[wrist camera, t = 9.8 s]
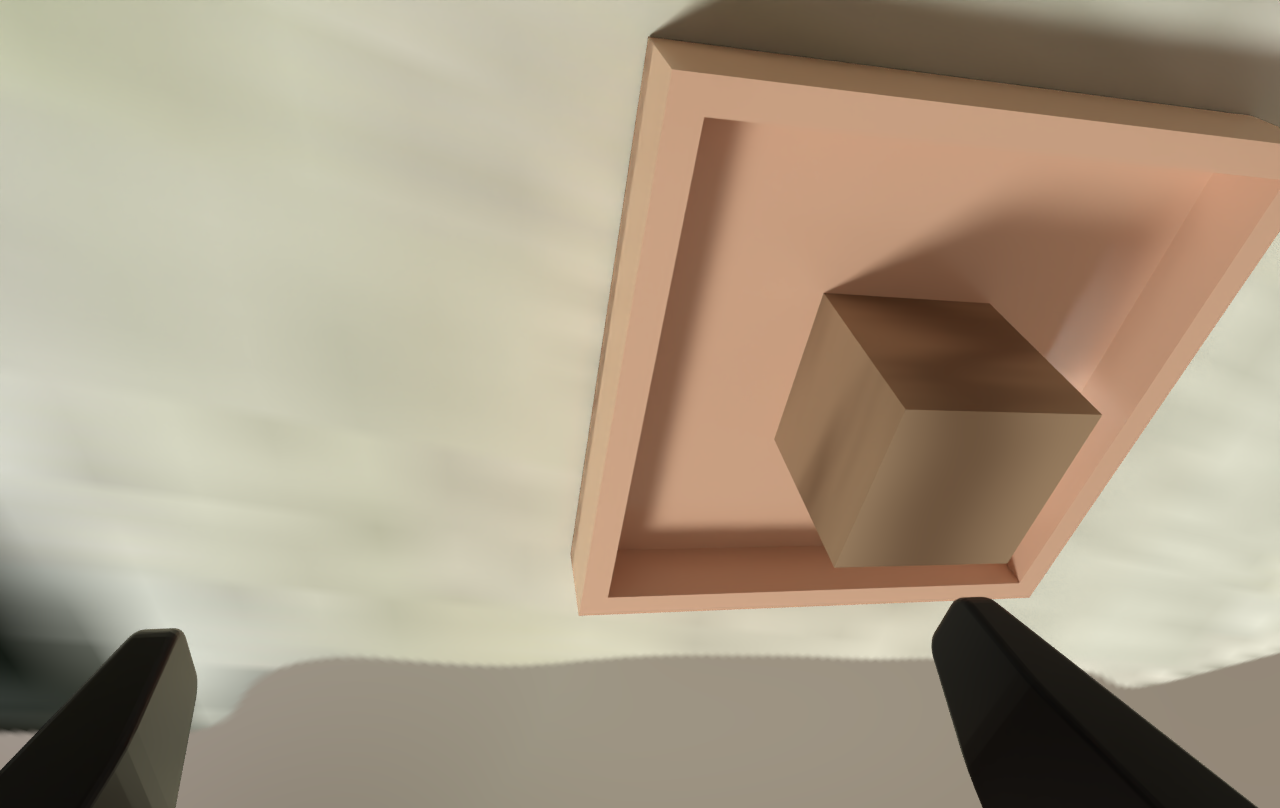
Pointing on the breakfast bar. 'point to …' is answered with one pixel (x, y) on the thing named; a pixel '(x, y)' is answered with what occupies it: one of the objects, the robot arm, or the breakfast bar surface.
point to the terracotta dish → (888, 267)
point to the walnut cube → (925, 431)
